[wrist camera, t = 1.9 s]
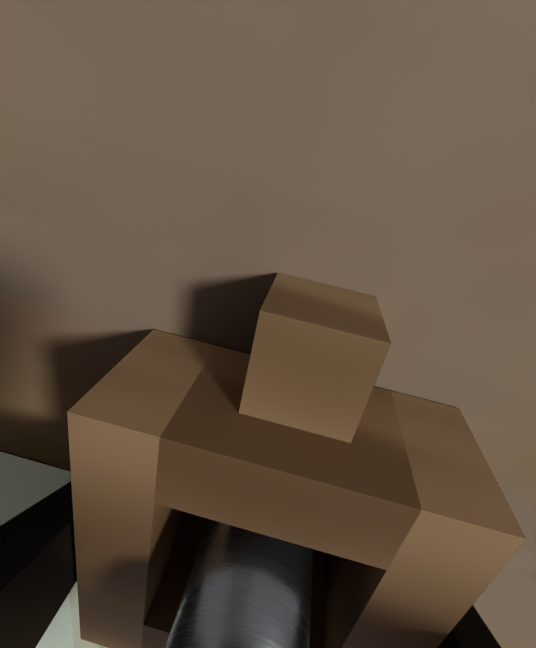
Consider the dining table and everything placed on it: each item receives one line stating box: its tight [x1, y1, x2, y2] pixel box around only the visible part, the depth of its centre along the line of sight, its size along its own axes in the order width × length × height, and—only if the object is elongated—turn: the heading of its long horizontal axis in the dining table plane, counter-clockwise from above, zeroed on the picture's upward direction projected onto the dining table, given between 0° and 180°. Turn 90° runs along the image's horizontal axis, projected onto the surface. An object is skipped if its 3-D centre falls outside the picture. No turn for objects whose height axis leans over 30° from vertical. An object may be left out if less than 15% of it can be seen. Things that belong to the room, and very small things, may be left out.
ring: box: [67, 273, 526, 648], centre depth 8 cm, size 9×7×3 cm
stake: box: [165, 519, 314, 648], centre depth 7 cm, size 2×2×5 cm
